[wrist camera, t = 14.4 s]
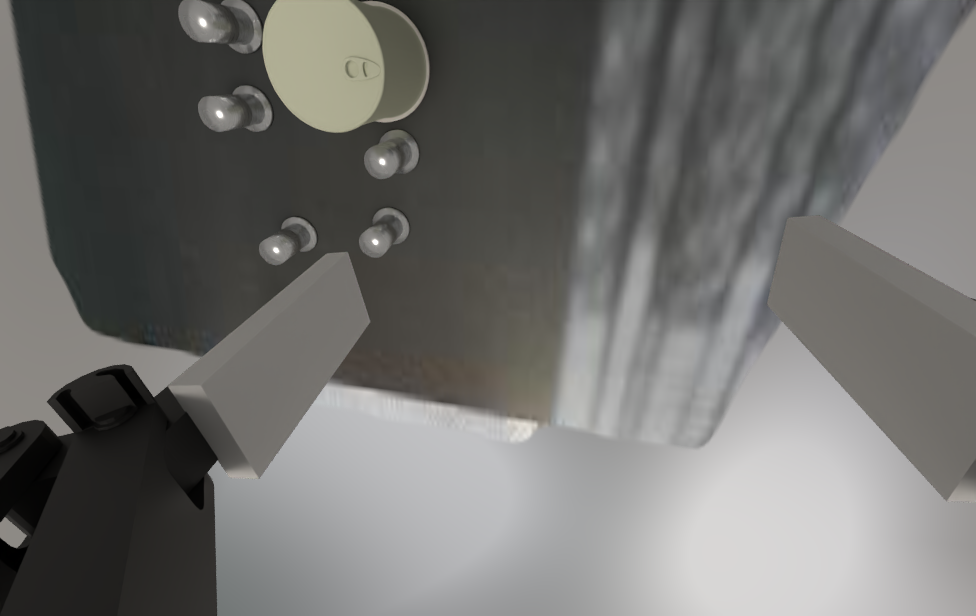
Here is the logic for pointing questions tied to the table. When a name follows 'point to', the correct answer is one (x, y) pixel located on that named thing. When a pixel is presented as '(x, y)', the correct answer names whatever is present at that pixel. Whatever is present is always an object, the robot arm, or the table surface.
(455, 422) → the table surface
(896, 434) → the robot arm
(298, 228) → the posts
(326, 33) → the can
